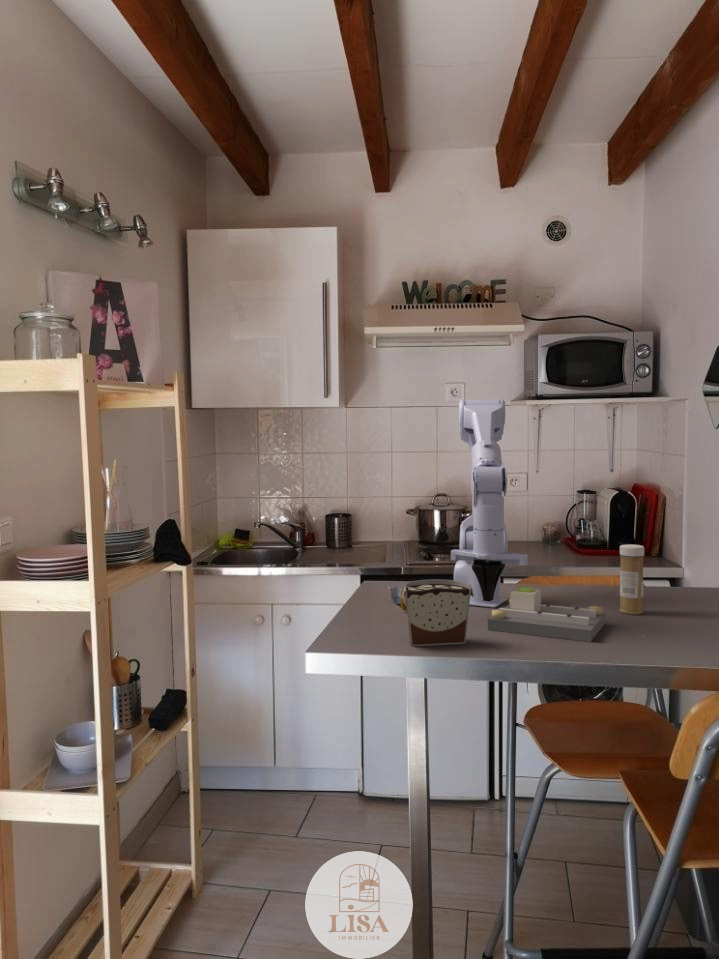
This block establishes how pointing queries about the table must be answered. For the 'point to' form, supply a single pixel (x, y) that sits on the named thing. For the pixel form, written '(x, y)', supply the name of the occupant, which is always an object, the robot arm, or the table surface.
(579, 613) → the levelling base
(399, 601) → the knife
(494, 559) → the robot arm
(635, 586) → the sprinkles bottle
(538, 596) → the block
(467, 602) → the food container
